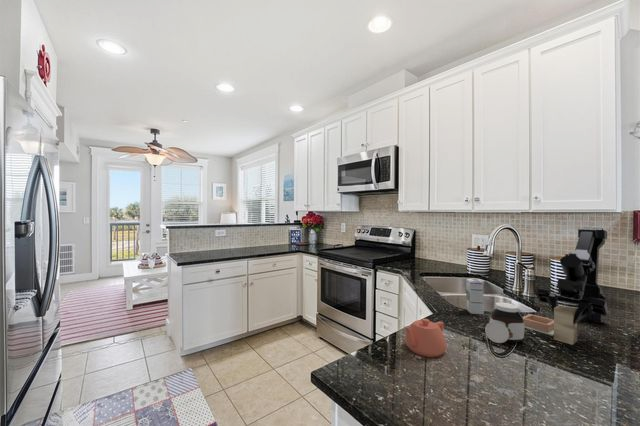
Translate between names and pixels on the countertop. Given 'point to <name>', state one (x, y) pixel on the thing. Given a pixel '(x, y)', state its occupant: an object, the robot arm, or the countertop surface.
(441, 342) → the teapot
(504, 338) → the spread jar
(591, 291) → the robot arm
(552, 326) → the pink rectangular tray
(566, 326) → the maple peg
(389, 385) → the countertop surface
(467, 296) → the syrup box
